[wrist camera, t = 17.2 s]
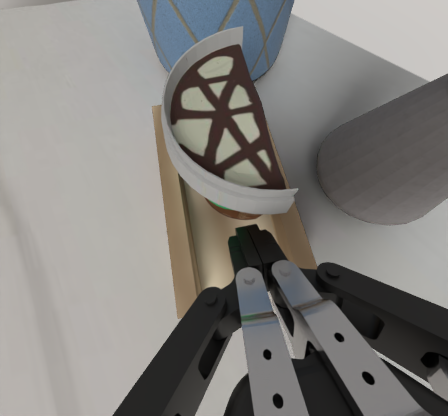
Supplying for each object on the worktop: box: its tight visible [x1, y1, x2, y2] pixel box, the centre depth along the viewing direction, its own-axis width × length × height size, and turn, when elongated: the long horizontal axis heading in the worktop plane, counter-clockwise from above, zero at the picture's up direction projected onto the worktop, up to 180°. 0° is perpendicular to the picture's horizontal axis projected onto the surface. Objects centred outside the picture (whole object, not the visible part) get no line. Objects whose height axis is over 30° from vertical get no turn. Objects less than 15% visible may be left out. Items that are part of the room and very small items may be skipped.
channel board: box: [152, 105, 317, 319], centre depth 17 cm, size 12×20×5 cm, turn 12°
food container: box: [161, 26, 299, 220], centre depth 14 cm, size 12×6×10 cm, turn 11°
